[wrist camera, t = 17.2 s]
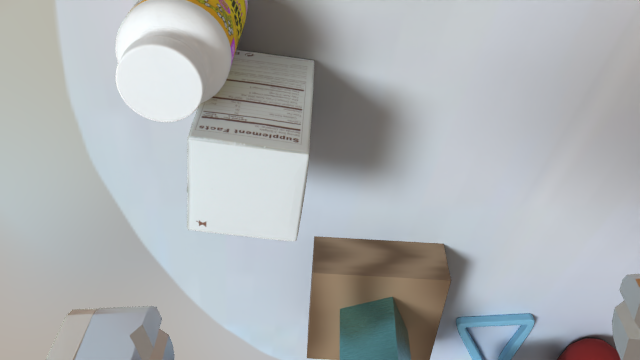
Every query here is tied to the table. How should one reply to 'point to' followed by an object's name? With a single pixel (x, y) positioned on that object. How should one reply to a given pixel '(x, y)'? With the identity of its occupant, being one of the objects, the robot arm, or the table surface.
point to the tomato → (590, 351)
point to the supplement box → (252, 149)
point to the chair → (496, 320)
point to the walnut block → (376, 288)
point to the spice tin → (373, 332)
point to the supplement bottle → (176, 54)
